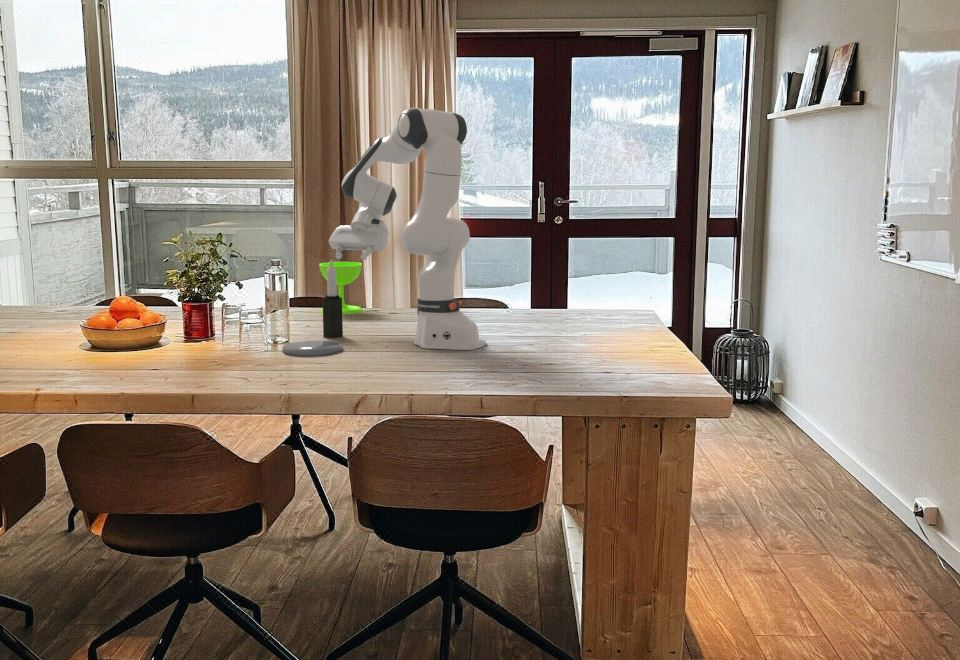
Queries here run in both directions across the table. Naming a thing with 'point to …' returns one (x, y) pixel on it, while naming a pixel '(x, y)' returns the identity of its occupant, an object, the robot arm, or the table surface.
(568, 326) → the table surface
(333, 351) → the slate plate
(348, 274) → the wineglass
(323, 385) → the table surface
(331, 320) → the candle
